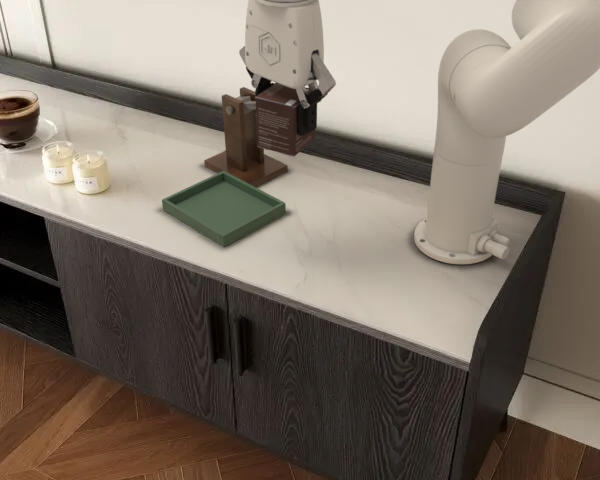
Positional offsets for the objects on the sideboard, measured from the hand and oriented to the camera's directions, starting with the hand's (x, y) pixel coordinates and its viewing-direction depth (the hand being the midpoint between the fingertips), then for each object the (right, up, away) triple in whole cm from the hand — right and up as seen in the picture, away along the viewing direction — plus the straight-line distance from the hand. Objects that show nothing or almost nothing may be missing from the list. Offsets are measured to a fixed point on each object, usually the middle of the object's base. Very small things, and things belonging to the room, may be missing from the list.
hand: (286, 122), depth 102 cm
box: (0, -3, +2) cm, 3 cm away
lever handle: (-4, +7, +22) cm, 24 cm away
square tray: (-10, -10, +22) cm, 26 cm away
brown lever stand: (-8, -1, +33) cm, 34 cm away
